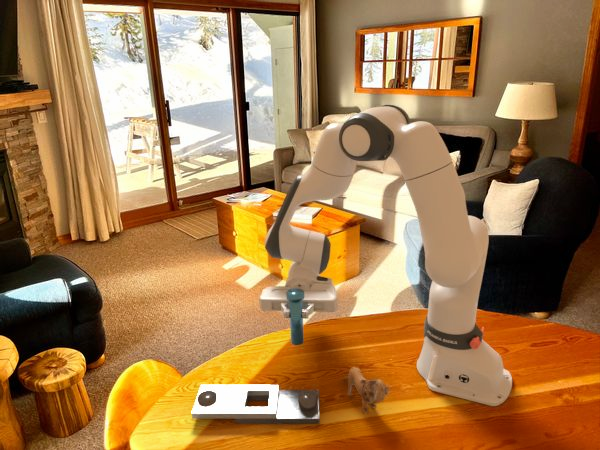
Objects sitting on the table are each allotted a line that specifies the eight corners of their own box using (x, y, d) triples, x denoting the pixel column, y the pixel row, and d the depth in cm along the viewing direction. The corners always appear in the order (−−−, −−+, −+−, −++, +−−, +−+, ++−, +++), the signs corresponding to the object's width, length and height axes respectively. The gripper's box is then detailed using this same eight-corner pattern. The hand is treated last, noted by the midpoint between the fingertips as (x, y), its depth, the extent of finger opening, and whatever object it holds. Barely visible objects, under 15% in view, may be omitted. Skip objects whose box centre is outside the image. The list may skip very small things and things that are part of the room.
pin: (309, 339, 117) (307, 291, 112) (299, 348, 113) (297, 299, 108) (295, 334, 119) (293, 286, 114) (285, 343, 116) (282, 294, 111)
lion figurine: (392, 413, 104) (394, 381, 100) (374, 424, 101) (375, 391, 98) (350, 378, 115) (350, 348, 112) (333, 386, 112) (333, 356, 109)
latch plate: (318, 394, 110) (318, 383, 108) (319, 423, 101) (319, 411, 100) (202, 395, 111) (200, 383, 109) (193, 423, 102) (191, 411, 101)
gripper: (262, 277, 125) (253, 304, 113) (337, 278, 123) (337, 305, 111) (264, 298, 128) (254, 326, 115) (338, 299, 126) (337, 327, 113)
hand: (295, 316), depth 113 cm, fingers closed on pin, 3 cm apart
